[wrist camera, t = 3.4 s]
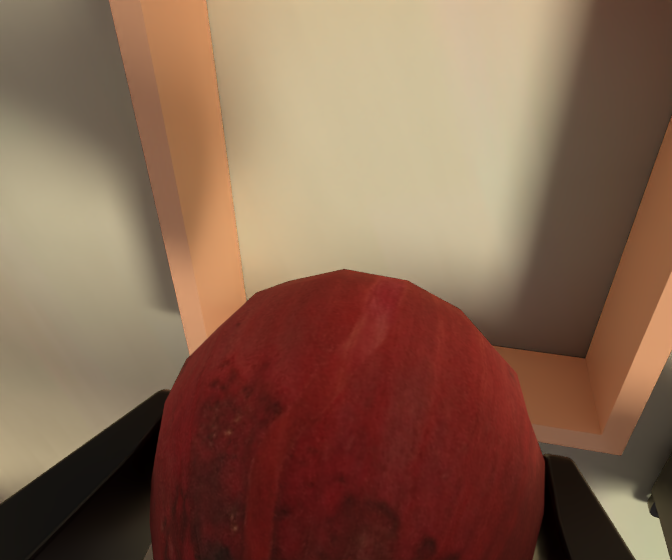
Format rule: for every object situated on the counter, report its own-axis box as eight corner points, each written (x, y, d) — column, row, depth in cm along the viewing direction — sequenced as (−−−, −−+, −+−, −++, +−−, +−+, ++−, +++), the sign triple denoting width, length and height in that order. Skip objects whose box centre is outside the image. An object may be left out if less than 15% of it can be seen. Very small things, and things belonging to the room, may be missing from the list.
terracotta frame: (792, -108, 12) (889, -107, 9) (602, 377, 20) (621, 455, 17) (164, -102, 14) (86, -100, 11) (231, 324, 23) (196, 384, 20)
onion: (202, 234, 11) (-159, 678, 5) (478, 147, 9) (463, 768, 3) (319, 422, 14) (181, 865, 8) (554, 392, 12) (637, 992, 5)
